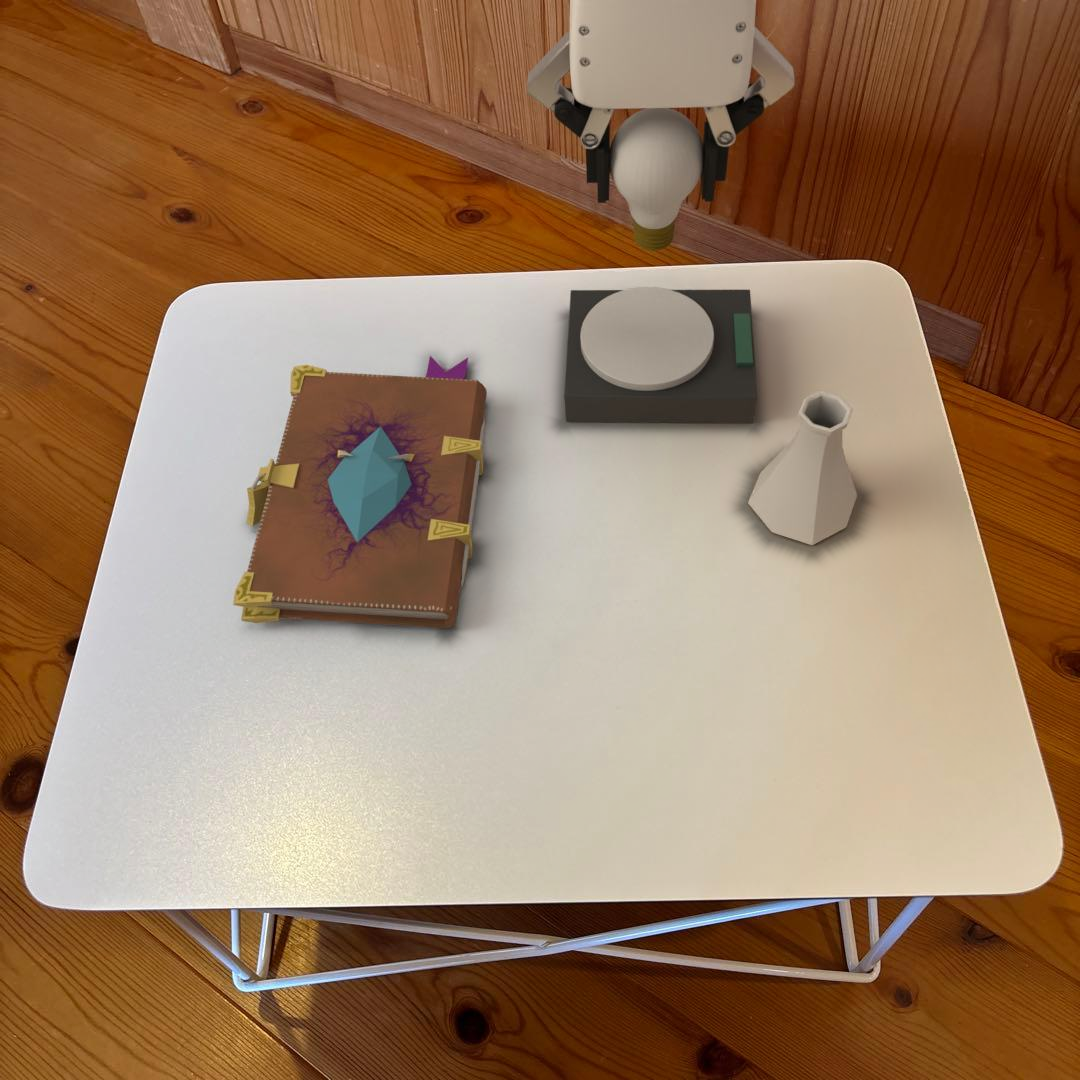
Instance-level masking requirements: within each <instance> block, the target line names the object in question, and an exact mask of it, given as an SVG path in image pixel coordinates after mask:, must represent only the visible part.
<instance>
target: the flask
mask: <svg viewBox="0 0 1080 1080" xmlns="http://www.w3.org/2000/svg"><path fill="white" fill-rule="evenodd" d="M853 411H854V408H853V407H852V406H851V405H850V404H849V403H848V402H847V401H846V400H845V399H844V398H843V396H841V395H838V394H835V393H832V392H829V391H824V390H819V391H816V392H815V393H812V394H810V395H808V396H806V397H804V399H803V401H802V403H801V406H800V408H799V411H798V413H797V418H798V419H799V420H800V425H799V428H798V430H797V432H796V434H795V435H794V437H793V438H792V439H791V440H790V441H789V442H788V443H787V445H785V447H784V448H783V449H782V450H781V451H780V452H779V453H778V454H777V455H776V456H775V457H774V458H773V459H772V460H771V461H770V462H769V463H768V464H767V465H766V466H765V467H764V468H763V469H762V471H760V473H759V476H758V478H757V480H756V483H755V485H754V487H753V490H752V492H751V495H750V496H749V499H748V502H747V504H748V505H749V506H750V507H751V509H752V510H753V511H754V513H755V514H756V515H757V516H758V517H759V519H760V520H761V521H762V522H763V524H765V526H766V527H767V528H768V529H769V531H770V532H771V533H773V534H776V535H779V536H782V537H784V538H785V537H786V538H789V539H792V540H794V541H797V542H801V543H804V544H806V545H807V544H808V545H810V546H814V545H815V544H817V543H819V542H821V541H823V540H826V539H827V538H829V537H831V536H833V535H834V534H836V533H838V532H840V531H842V530H844V529H846V528H847V527H848V524H849V521H850V518H851V515H852V512H853V510H854V507H855V503H856V501H857V498H858V492H857V490H856V489H857V488H856V487H855V484H854V480H853V478H852V475H851V471H850V469H849V466H848V461H847V458H846V455H845V450H844V447H843V430H845V429H846V428H847V427H848V425H849V422H850V419H851V416H852V415H853Z"/></svg>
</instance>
